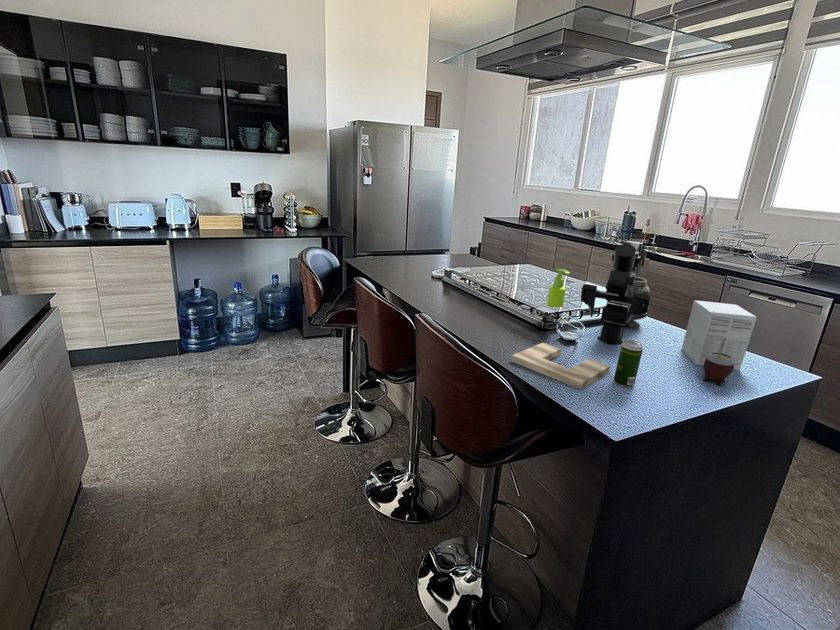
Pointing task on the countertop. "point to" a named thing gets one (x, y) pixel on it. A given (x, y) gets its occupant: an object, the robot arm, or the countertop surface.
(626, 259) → the robot arm
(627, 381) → the green drink can
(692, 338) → the supplement box
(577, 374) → the tan u-shaped bracket
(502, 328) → the countertop surface
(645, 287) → the carved stone vase
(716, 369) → the mate gourd
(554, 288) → the soap dispenser
